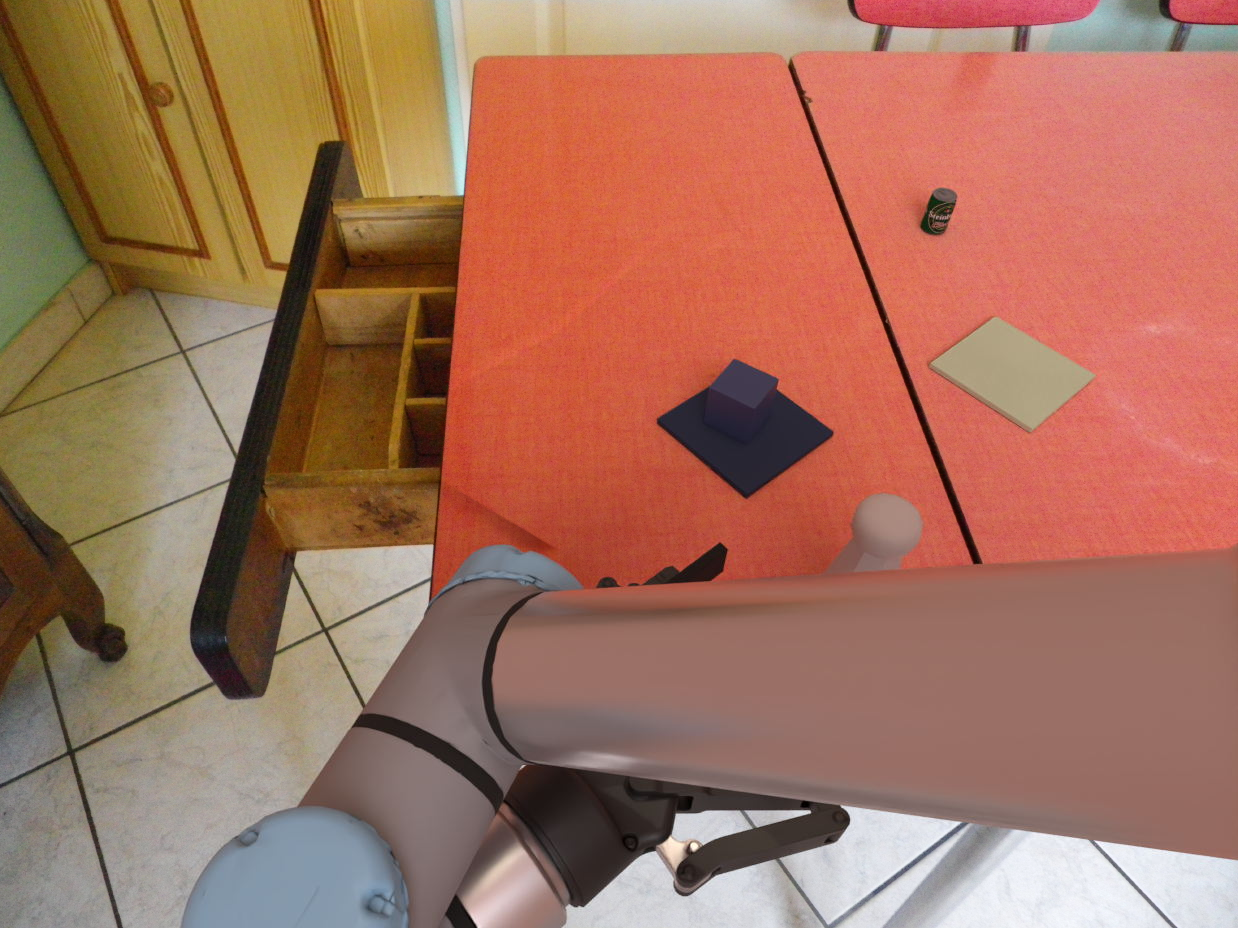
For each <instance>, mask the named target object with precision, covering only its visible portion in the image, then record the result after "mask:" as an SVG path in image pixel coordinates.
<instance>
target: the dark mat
mask: <svg viewBox="0 0 1238 928" xmlns="http://www.w3.org/2000/svg"><path fill="white" fill-rule="evenodd" d="M708 390H709V386H707V387H706V388H704V389H703V390H701V391H699V392H698V393H696V394H695V395H693V396H691V397H689V398H688V399H686V400H685V401H683V402H681V403H680V404H678V405H677V406H675V407H673V408H672V409H670V410H668V411H667V412H665V413H664V414H662V415H661V416H659V417H657V418H656V424H658V426H660V427H661V428H662V429H664V430H665V431H666V432H667V433H668V434H669V435H671V436H672V437H673V438H674V439H675V440H676V441H677V442H679V443H680V444H681V445H683V446H684V447H685V449H687V450H688V451H689V452H690V453H692V454H693V455H694V456H696V458H698V459H699V460H700V461H702V462H703V463H704V464H705V465H706V466H707V467H708V468H710V470H712V471H713V472H714V473H716V474H717V475H718V476H719V477H721V478H722V479H723V480H724V481H725V482H726V483H728V485H730V486H731V487H732V488H733V489H734V490H736V491H737V492H738V493H739V494H741V496H742V497H744V498H745V499H748V498H749V497H751V496H752V495H753V494H754V493H756V492H757V491H759V490H760V489H761V488H763V487H765V486H766V485H767V484H768V483H770V482H771V481H772V480H774V479H776V478H777V477H778V476H780V475H781V474H782V473H784V472H785V471H786V470H788V469H789V468H791V467H792V466H793V465H795V464H796V463H798V462H799V461H801V460H802V459H803V458H804V457H806V456H808V455H809V454H810V453H811V452H813V451H814V450H816V449H817V448H819V447H820V446H821V445H822V444H824V443H826V441H828V440H830V439H831V438H832V437H834V434H835V432H834V430H833V429H831V428H830V427H828V426H827V425H826V424H824V423H823V422H822V421H820V420H819V419H818V418H816V417H815V416H814V415H812V414H811V413H810V412H808V411H807V410H805V409H804V408H803V407H801V406H800V405H798V404H797V403H796V402H794V401H793V400H792V399H791V398H790V397H788V396H787V395H786V394H784V393H783V392H781V391H780V390H778V389H777V390H776V394H775V398H774V403H773V407H772V411H771V415H770V416H769V417H768V418H767V420H766V421H765V422H764V423H763V425H762V426H761V427H760V429H759V430H758V431H757V432H756V434H755V435H754V436H753V437H752V439H751V440H750V441H749V442H748V444H746V443H744V442H742V441H740V440H738V439H736V438H734V437H732V436H730V435H728V434H726V433H724V432H722V431H720V430H718V429H716V428H714V427H712V426H710V425H708V424H706V423H704V417H705V410H706V404H707V397H708Z"/></svg>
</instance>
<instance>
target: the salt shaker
mask: <svg viewBox="0 0 1238 928" xmlns="http://www.w3.org/2000/svg"><path fill="white" fill-rule="evenodd" d="M850 528H851V532H852V537H851V538H850V539H849V541H848V542H847V543H846V544H845V546H844V547H843V548H842V549H841V550H840V551H839V552H838V554H837V555H836V556H835V557H834V559H833V560H832V561H831V562H830V564H829V565H828V566H827V567H826V568H825V569H824V571H823V572H822V573H821V574H831V573H847V572H862V571H878V570H894V569H902V568H901V567H902V562H903V558H904V557H906V556H907V555H909V554H910V553H911V552H912V551H914V550H915V549H916V548H917V546H918V545H919V543H920V541H921V537H922V532H923V529H924V522H923V518H922V515H921V512H920V511H919V510H918V508H916V507H915V505H914V504H913V503H912V502H911V501H909V500H907V499H905V498H904V497H902V496H900V495H898V494H894V493H887V492H879V493H878V492H877V493H873V494H869V495H868V496H866V497H865V498H864V499H863V500H862V501H860V502H859V503H858V505H857V506H856V508H855V510H854V513H853V516H852V519H851V522H850Z"/></svg>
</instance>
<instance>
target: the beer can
mask: <svg viewBox="0 0 1238 928" xmlns="http://www.w3.org/2000/svg"><path fill="white" fill-rule="evenodd" d="M957 199H958V194H957V193H956V191H955V190H953V189H951V188H948V187H937V188H935V189H934V190H933V191H932V193H931V195H930V197H929V198H928V202H927V204H926V207H925V210H924V213H923V216H922V219H921V223H920V227H921V229H922V231H924V232H925V233H926V234H929V235H934V236H938V235H942V234H944V233H945V232H946V231H947V229H948V227H949V223H950V221H951V218H952V215H953V213H954V210H955V208H956V205H957Z"/></svg>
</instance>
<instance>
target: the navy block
mask: <svg viewBox="0 0 1238 928" xmlns="http://www.w3.org/2000/svg"><path fill="white" fill-rule="evenodd" d="M779 381H780V378H778V377H776V376H773V375H772V374H769V373H768V372H765V371H763V370H760V369H758V368H757V367H754V366H752V365H749V364H748V363H745V362H743V361H742V360H739V359H737V358H733V359H732V360H731V362H729V364H728V365H726V367H725V368H724V369H723V371H722V372H720V374H719V375H718V376H717V377H716V378H715V380H714V381H712V382H711V384H710V385H709V386H708V387H709V390H708V397H707V404H706V410H705V417H704V423H706V424H708V425H710V426H712V427H714V428H716V429H718V430H720V431H722V432H724V433H726V434H728V435H730V436H732V437H734V438H736V439H738V440H740V441H742V442H744V443H746V444H748V442H749V441H750V440H751V439H752V437H753V436H754V435H755V434H756V432H757V431H758V430H759V429H760V427H761V426H762V425H763V423H764V422H765V421H766V420H767V418H768V417H769V416H770V415H771V411H772V407H773V403H774V398H775V394H776V390H778V386H779Z"/></svg>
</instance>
